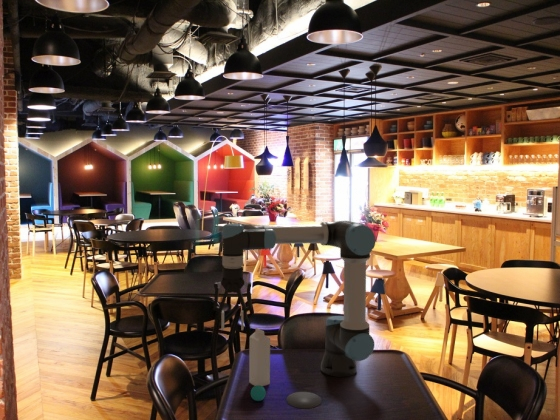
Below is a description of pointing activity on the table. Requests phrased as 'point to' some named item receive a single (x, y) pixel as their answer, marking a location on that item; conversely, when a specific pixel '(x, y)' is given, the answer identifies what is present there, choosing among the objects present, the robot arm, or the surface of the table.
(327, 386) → the table surface
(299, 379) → the table surface
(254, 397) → the ball
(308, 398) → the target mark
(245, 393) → the table surface
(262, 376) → the milk
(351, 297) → the robot arm
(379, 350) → the table surface
